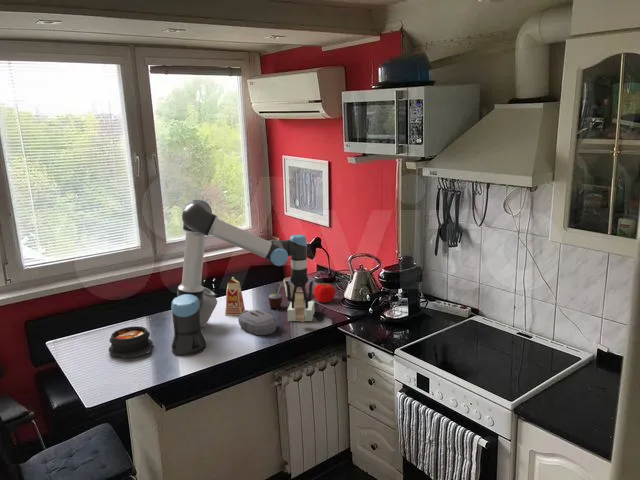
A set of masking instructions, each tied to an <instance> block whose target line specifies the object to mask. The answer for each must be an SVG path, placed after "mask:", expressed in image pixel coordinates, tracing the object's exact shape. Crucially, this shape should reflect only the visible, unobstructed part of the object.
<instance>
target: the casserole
mask: <svg viewBox="0 0 640 480" xmlns="http://www.w3.org/2000/svg"><path fill="white" fill-rule="evenodd" d="M150 335H151V334H150V331H149V330H148V329H147V328H146V327H144V326H138V325H137V326H128V327H122V328H119V329H117V330H115V331H114V332H112V333H111V336H110V338H109V339H108V340H109V343H110V344H111V345H110V346H109V348H108V352H109V354H111V355H115V356H118V357H121V358H124V359H130V358H131V359H133V358H137V357H140V356H143V355H146V354H148V353H149V352H151V351H152V347H153V345H154V342H153V341H152V340H151V338H149V337H150Z"/></svg>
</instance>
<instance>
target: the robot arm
mask: <svg viewBox="0 0 640 480" xmlns="http://www.w3.org/2000/svg"><path fill="white" fill-rule="evenodd" d="M181 219H182V223H183V224H182V231H183V232H185V241H184V242H185V243H184V254H183V263H182V265H183V266H182V274H181V275H182V278H181V283H180V284H179V285H178V286H177V295H176V296H177V297H174V298H173V300H171V306H170V308H171V314H172V322H173V332H174V335H173V338H172V342H171V353H172V354H173V355H175V356H180V357H181V356H183V357H186V356H193V355H194V356H195V355H197V354H201V353H202V352H204V351H205V350H207V348H208V345H207V343H208V342H207V340H206V337H205V335H204V333H203V331H202V327H201V320H200V313H201V309H202V305H203V301H204V300H203V292H204V288H203V287H204V286H203V285H202V275H203V266H204V256H205V255H204V253H205V246H206V245H205V244H206V237H210V236H212V237H214V238H216V239H219V240H221V241H224V242H226V243H228V244H231V245H233V246H235V247H238V248H240V249H242V250H245V251H247V252H249V253H251V254H255V255H256V256H259V257H261V258H263V259H265V260H267V261H269V262H271V263H272V264H273V265H275V266H277V267H281V266H284V265H286V263H287V262H288V259H289V257H290V267H291V268H290V270H291V272H290V275H291V276H290V277H291V279H290V280H286V282H285V283H286V285H287V296H286V297H287V302H290V303H291V302H292V308H294V316H295V293H296V290H297V291H298V288H301V289H302V290H301V291H303V293H304V299H305V301H304V316H306V309H308V302H309V301H313V284H314V282H315V281H314V280H311V279H309V277H308V268H307V267H308V256H307V255H308V243H307V237H306V235H303V234H292V235H291V236H290V238H289V239H286V240H284V239H282V240H266V239H264V238H262V237H260V236H258V235H255V234H254V233H251V232H248V231H246V230H244V229H242V228H240V227H238V226H235V225H233V224H230V223H228V222H225V220H221V219H219V218H218V215H216V214H214V213H213V211H212V208H211V205H209V203H208V202H207V201H205V200H203V199H193V200H190V201H189V202H188V203H187V204H186V205H185V207H184V208H183V211H182V212H181ZM291 282H292V283H293V285H294V290H293V296H292V297H291V291H290V283H291ZM307 284H308V285H309V286H308V287H309V288H308V293H307V287H306V285H307ZM297 287H298V288H297Z"/></svg>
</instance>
